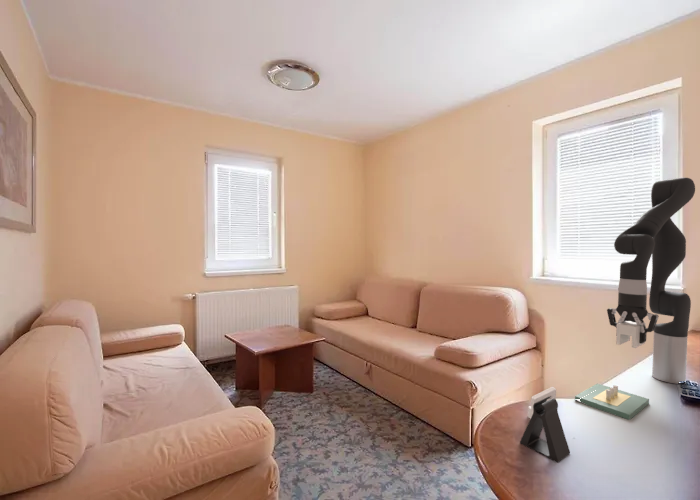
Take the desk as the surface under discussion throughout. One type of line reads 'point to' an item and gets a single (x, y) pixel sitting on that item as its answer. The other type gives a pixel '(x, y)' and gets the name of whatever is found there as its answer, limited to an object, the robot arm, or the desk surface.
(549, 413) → the phone stand
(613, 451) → the desk surface
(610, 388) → the header board
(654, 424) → the desk surface
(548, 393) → the white wedge bracket
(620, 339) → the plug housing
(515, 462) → the desk surface
